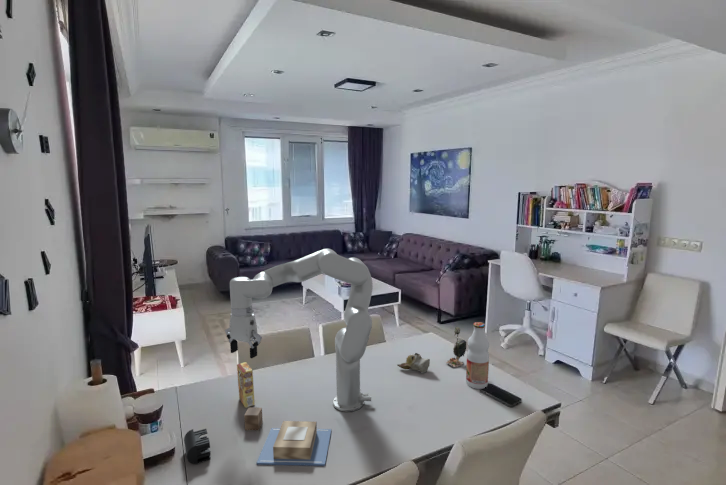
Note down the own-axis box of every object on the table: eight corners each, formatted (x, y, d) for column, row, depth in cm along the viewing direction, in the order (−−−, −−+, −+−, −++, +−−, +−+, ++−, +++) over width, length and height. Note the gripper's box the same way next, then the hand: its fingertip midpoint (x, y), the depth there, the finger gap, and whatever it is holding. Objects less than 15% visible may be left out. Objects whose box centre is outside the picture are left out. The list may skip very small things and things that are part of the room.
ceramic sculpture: (424, 360, 181) (395, 353, 190) (424, 378, 182) (396, 371, 191) (434, 352, 190) (406, 346, 198) (434, 369, 191) (407, 363, 199)
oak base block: (316, 433, 143) (316, 421, 142) (310, 461, 129) (309, 447, 128) (283, 433, 143) (283, 420, 142) (273, 460, 129) (273, 446, 129)
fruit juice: (479, 391, 170) (482, 329, 166) (461, 383, 178) (463, 323, 173) (492, 384, 176) (495, 324, 172) (474, 376, 183) (476, 318, 179)
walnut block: (262, 422, 150) (261, 407, 149) (258, 430, 145) (257, 415, 144) (249, 422, 150) (248, 407, 149) (245, 430, 145) (244, 415, 144)
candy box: (255, 405, 161) (253, 369, 159) (244, 408, 159) (242, 372, 156) (248, 395, 168) (246, 361, 166) (238, 398, 166) (236, 364, 164)
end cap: (184, 449, 135) (183, 431, 134) (207, 443, 138) (205, 425, 137) (187, 468, 126) (185, 448, 125) (211, 460, 130) (209, 441, 128)
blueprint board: (331, 430, 144) (331, 429, 144) (324, 465, 127) (324, 463, 127) (271, 429, 145) (271, 427, 145) (256, 464, 127) (256, 462, 127)
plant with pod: (471, 364, 195) (472, 325, 192) (452, 369, 191) (453, 329, 188) (460, 358, 203) (462, 320, 200) (442, 362, 198) (443, 323, 195)
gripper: (266, 311, 146) (268, 355, 149) (232, 304, 154) (234, 346, 157) (252, 317, 140) (254, 363, 142) (217, 310, 148) (219, 353, 150)
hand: (243, 354), depth 150 cm, fingers open, 9 cm apart
